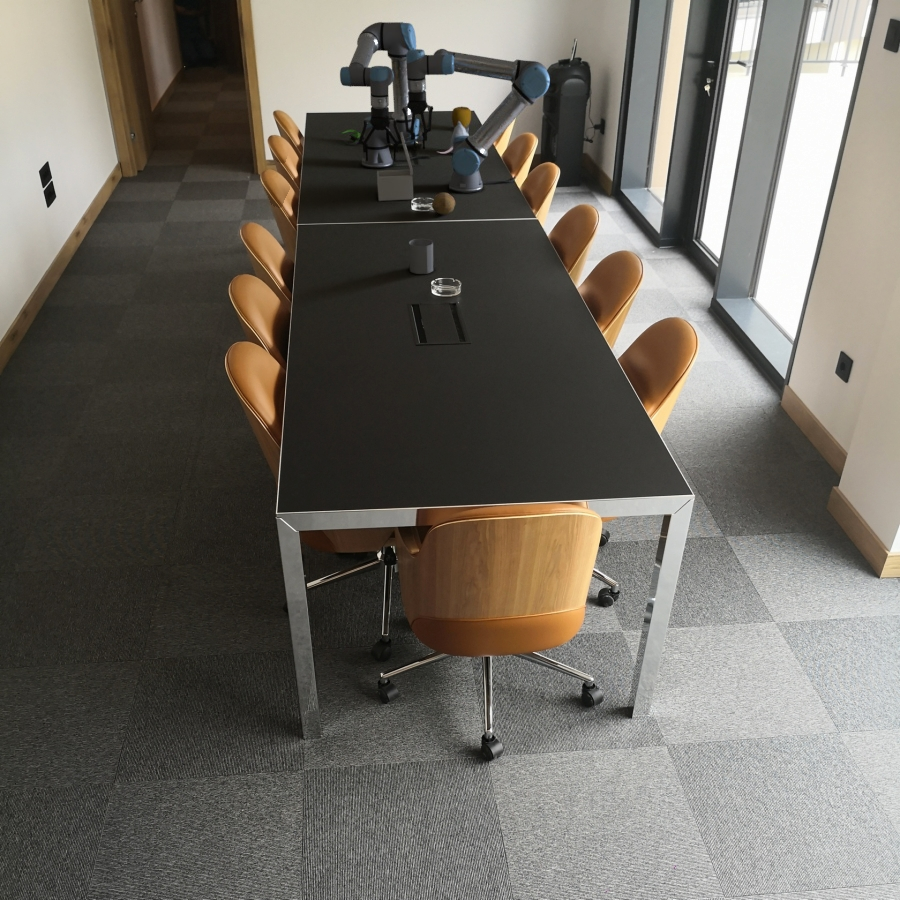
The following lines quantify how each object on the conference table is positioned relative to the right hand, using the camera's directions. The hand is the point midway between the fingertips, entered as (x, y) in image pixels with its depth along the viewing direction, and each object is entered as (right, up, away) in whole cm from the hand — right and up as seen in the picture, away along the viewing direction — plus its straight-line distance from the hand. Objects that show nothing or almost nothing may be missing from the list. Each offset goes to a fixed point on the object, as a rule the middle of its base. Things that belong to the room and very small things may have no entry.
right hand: (419, 148), depth 372 cm
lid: (-6, -2, +1) cm, 6 cm away
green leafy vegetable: (-30, +36, +94) cm, 105 cm away
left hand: (-17, -4, +2) cm, 17 cm away
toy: (+15, +22, +72) cm, 77 cm away
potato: (+10, -30, -9) cm, 33 cm away
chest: (-11, -17, +11) cm, 23 cm away
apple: (+20, +52, +119) cm, 131 cm away
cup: (+3, -65, -64) cm, 91 cm away
